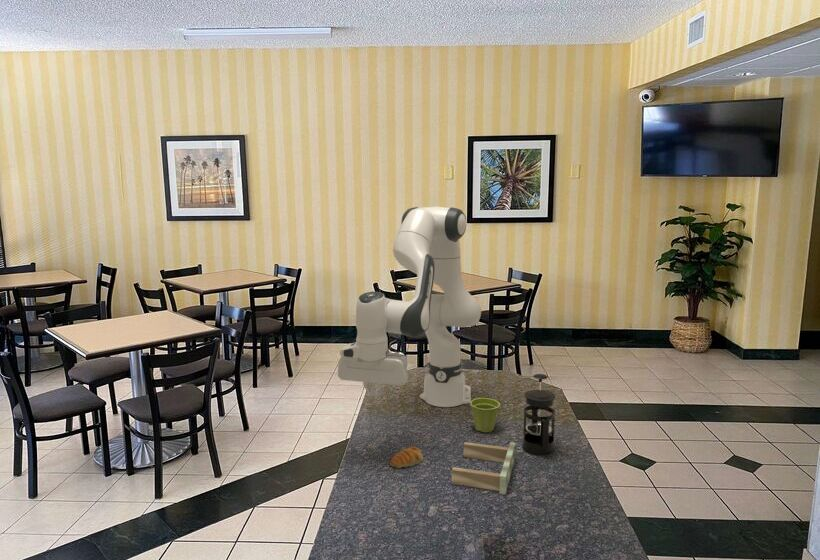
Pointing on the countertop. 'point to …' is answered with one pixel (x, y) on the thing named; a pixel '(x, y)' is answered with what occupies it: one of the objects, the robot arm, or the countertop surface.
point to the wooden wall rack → (486, 478)
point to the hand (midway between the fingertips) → (373, 396)
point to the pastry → (407, 457)
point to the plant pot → (484, 413)
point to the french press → (543, 429)
